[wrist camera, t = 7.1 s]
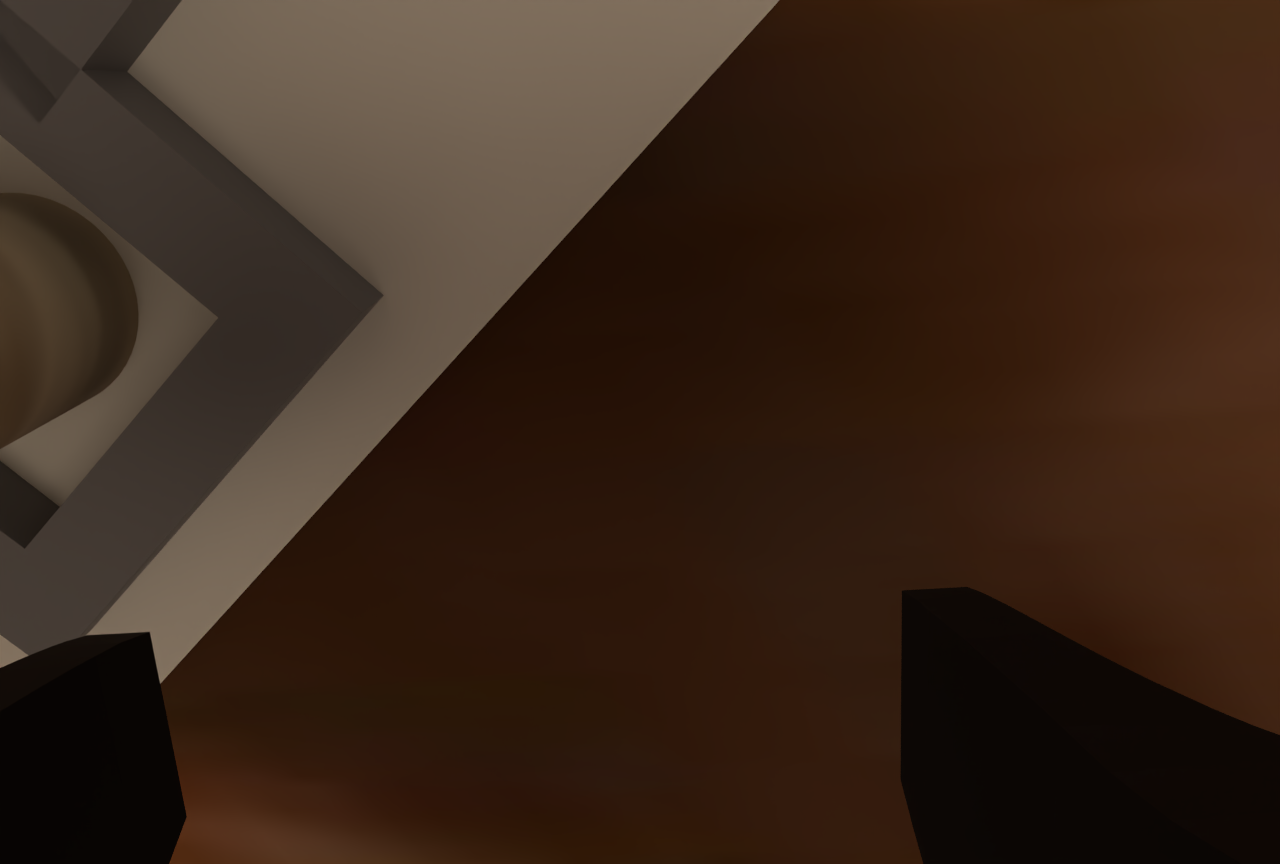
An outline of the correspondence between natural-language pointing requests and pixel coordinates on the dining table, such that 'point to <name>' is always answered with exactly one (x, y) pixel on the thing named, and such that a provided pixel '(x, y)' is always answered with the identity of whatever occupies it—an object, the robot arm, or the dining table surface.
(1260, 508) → the dining table surface
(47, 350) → the wooden pin
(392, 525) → the dining table surface
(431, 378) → the pin board
